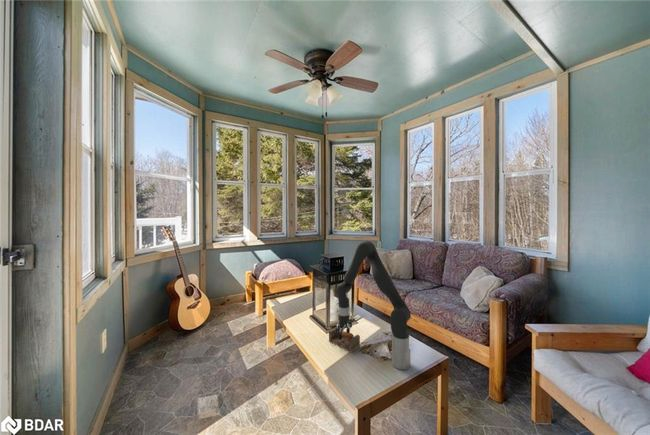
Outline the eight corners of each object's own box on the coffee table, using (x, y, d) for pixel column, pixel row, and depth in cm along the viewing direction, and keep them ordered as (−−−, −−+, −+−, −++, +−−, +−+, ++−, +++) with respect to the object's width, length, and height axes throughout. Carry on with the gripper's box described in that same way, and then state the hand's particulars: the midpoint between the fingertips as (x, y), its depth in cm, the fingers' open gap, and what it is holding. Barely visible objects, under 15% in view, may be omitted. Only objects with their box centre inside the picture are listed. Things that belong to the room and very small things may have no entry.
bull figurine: (337, 337, 170) (337, 326, 170) (354, 343, 163) (354, 331, 163) (333, 340, 167) (333, 328, 167) (351, 346, 159) (351, 334, 159)
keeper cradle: (359, 346, 162) (359, 335, 161) (351, 352, 155) (351, 341, 155) (337, 336, 175) (337, 326, 175) (328, 341, 168) (328, 330, 168)
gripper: (341, 318, 157) (341, 343, 157) (355, 311, 167) (355, 335, 167) (332, 314, 162) (332, 339, 162) (346, 308, 172) (346, 331, 173)
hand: (344, 337), depth 165 cm, fingers open, 8 cm apart
